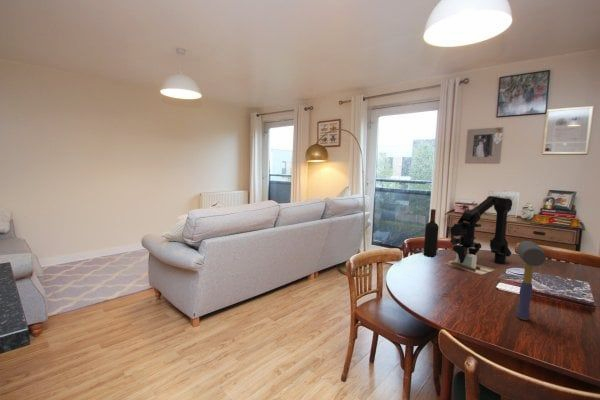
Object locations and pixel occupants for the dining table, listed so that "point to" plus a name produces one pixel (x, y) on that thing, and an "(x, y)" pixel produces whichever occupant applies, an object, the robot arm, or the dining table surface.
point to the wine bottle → (431, 236)
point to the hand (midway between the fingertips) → (465, 261)
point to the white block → (468, 260)
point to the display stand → (478, 269)
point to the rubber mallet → (528, 274)
